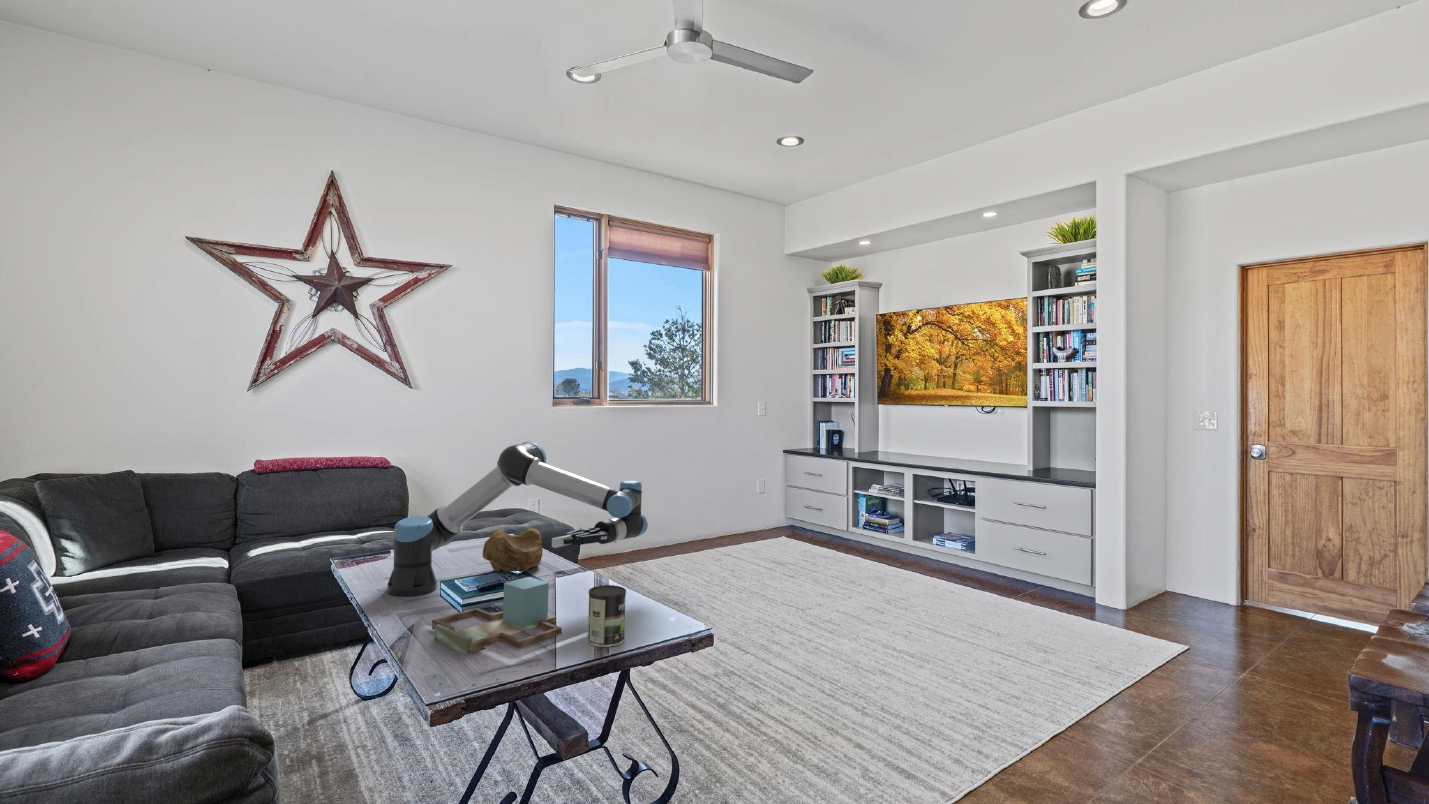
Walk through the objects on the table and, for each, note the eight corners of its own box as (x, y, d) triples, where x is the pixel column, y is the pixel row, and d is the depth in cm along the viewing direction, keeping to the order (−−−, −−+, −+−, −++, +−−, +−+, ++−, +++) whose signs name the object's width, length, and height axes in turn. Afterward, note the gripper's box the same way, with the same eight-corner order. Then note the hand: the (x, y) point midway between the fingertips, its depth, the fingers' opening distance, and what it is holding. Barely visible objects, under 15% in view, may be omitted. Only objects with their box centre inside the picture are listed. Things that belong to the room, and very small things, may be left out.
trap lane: (506, 607, 214) (506, 594, 213) (574, 631, 195) (574, 618, 195) (418, 632, 190) (418, 618, 190) (486, 663, 171) (486, 647, 171)
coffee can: (627, 634, 194) (628, 585, 194) (621, 648, 184) (623, 596, 184) (591, 633, 195) (592, 584, 194) (583, 646, 184) (585, 595, 184)
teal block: (528, 612, 206) (529, 576, 206) (547, 619, 201) (548, 582, 201) (503, 620, 199) (504, 583, 199) (522, 627, 194) (523, 589, 194)
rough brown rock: (500, 583, 241) (504, 542, 240) (476, 569, 252) (480, 530, 251) (555, 573, 258) (559, 534, 257) (530, 561, 269) (534, 523, 268)
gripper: (623, 545, 222) (567, 559, 203) (595, 539, 230) (539, 551, 211) (623, 522, 222) (568, 534, 203) (596, 517, 230) (539, 527, 211)
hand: (553, 543), depth 207 cm, fingers closed
